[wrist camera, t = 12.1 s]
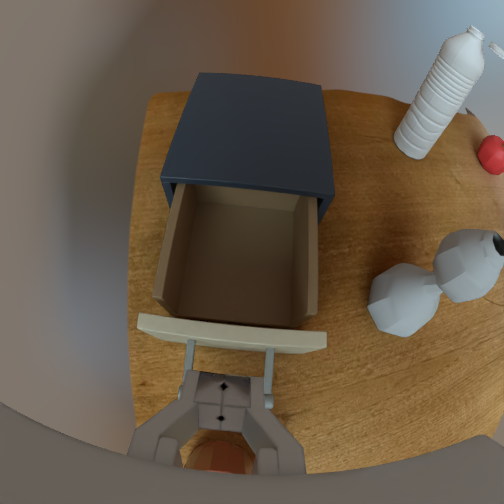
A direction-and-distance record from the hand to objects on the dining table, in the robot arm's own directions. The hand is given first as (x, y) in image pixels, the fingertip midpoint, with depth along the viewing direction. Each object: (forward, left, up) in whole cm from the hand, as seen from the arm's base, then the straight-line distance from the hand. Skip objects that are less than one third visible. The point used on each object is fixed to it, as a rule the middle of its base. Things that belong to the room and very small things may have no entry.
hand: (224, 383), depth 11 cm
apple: (+48, +38, -17) cm, 63 cm away
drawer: (0, +8, -16) cm, 18 cm away
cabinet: (0, +23, -17) cm, 28 cm away
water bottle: (+26, +34, -17) cm, 46 cm away
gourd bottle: (+17, +8, -17) cm, 25 cm away
